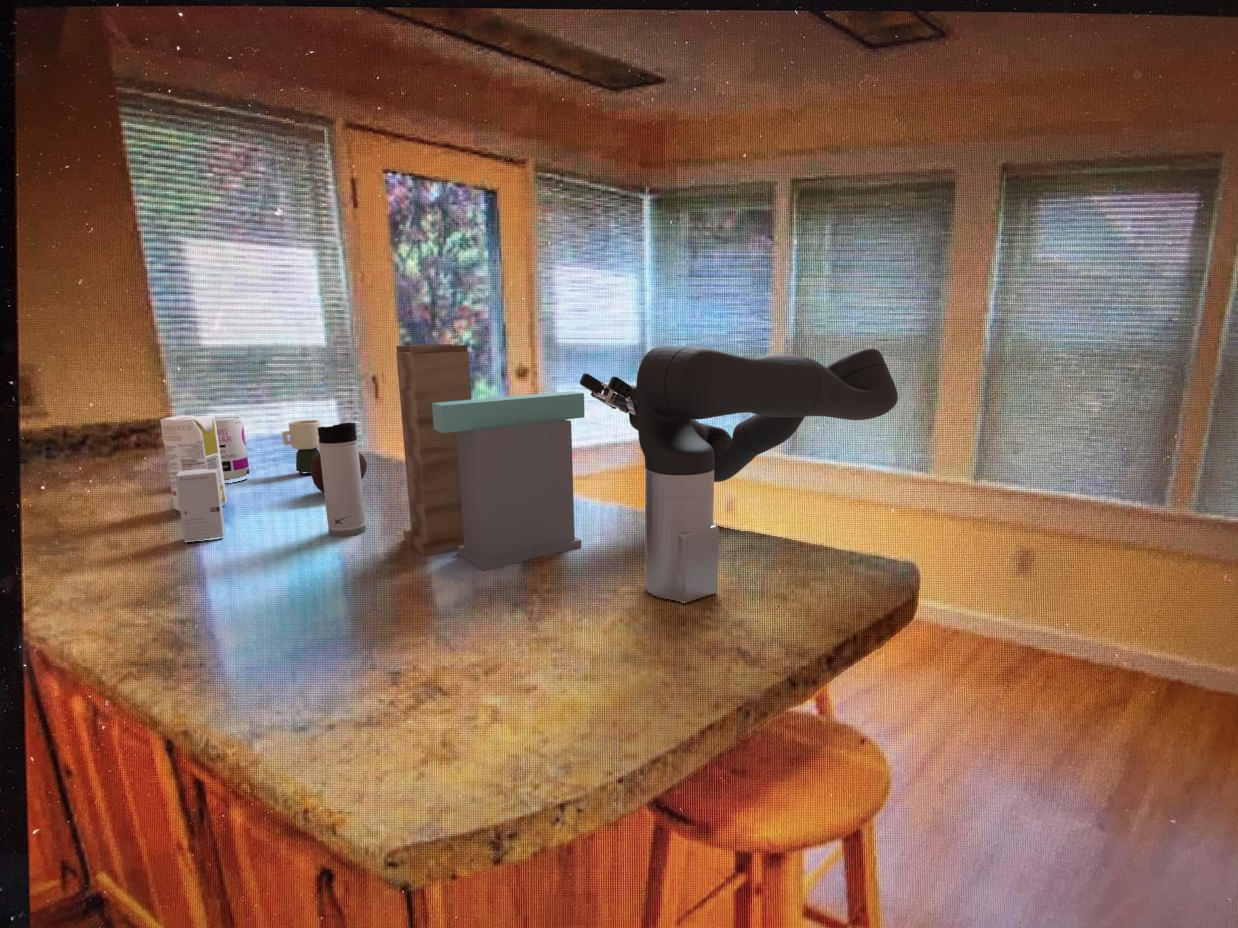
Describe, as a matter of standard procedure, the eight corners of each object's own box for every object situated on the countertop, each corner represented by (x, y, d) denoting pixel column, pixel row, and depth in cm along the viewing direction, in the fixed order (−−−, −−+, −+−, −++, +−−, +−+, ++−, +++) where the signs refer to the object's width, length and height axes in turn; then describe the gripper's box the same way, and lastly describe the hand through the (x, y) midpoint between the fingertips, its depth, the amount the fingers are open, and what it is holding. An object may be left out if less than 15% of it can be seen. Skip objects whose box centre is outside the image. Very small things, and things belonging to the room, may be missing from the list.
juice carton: (206, 514, 133) (192, 419, 129) (168, 513, 134) (152, 419, 130) (233, 504, 140) (220, 414, 136) (196, 503, 141) (183, 413, 137)
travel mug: (342, 539, 116) (330, 425, 112) (322, 533, 120) (309, 422, 116) (374, 530, 121) (363, 421, 117) (353, 524, 125) (342, 418, 121)
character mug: (326, 467, 174) (320, 418, 172) (337, 471, 169) (332, 420, 167) (282, 474, 167) (275, 423, 164) (293, 479, 162) (286, 426, 159)
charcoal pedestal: (581, 546, 111) (578, 421, 106) (482, 570, 101) (474, 433, 96) (552, 532, 119) (547, 414, 114) (457, 553, 109) (449, 425, 104)
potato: (379, 486, 153) (375, 442, 151) (348, 502, 141) (343, 453, 139) (334, 485, 155) (329, 441, 153) (299, 500, 142) (293, 452, 140)
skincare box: (184, 544, 115) (173, 475, 112) (187, 537, 119) (176, 470, 116) (225, 539, 118) (215, 471, 115) (227, 532, 122) (217, 466, 119)
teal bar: (584, 417, 110) (583, 393, 109) (443, 433, 97) (441, 405, 96) (572, 414, 113) (571, 391, 113) (433, 429, 100) (431, 403, 99)
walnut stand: (488, 542, 114) (476, 345, 107) (424, 555, 108) (408, 347, 101) (464, 528, 122) (452, 343, 115) (404, 540, 116) (387, 346, 109)
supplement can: (246, 475, 167) (238, 415, 164) (253, 480, 161) (245, 418, 158) (208, 480, 162) (199, 418, 159) (214, 486, 156) (205, 422, 153)
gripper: (678, 444, 116) (611, 403, 107) (629, 433, 128) (564, 396, 118) (694, 405, 117) (630, 361, 107) (644, 398, 128) (582, 358, 119)
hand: (596, 379), depth 113 cm, fingers open, 8 cm apart
